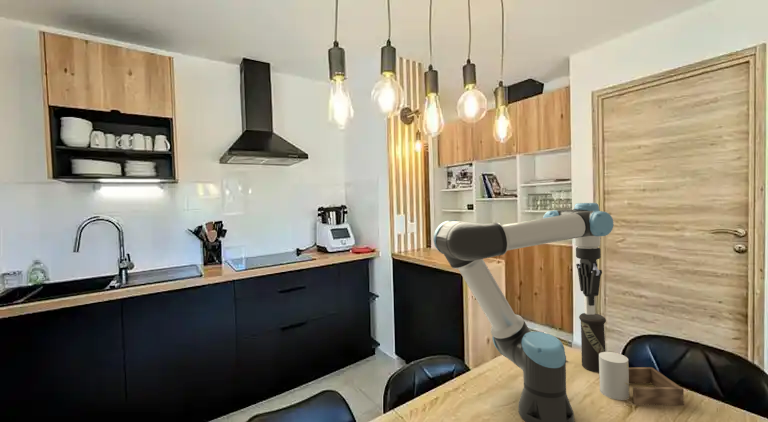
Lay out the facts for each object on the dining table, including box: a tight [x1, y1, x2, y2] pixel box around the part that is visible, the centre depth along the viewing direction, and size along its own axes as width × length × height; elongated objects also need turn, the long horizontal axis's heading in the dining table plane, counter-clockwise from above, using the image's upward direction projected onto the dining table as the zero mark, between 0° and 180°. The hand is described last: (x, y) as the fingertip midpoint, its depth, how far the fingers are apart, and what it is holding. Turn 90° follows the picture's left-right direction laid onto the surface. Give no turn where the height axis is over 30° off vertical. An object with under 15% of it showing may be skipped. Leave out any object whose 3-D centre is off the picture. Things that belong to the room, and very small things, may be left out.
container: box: [578, 312, 607, 373], centre depth 134 cm, size 9×9×20 cm
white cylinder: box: [598, 351, 630, 401], centre depth 116 cm, size 8×8×12 cm
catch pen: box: [629, 366, 685, 406], centre depth 115 cm, size 14×14×5 cm
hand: (589, 313), depth 124 cm, fingers closed
